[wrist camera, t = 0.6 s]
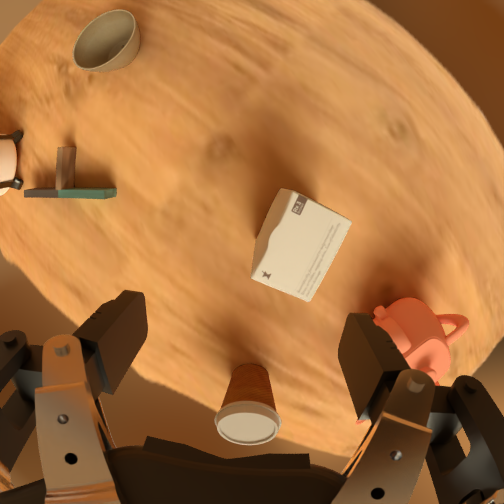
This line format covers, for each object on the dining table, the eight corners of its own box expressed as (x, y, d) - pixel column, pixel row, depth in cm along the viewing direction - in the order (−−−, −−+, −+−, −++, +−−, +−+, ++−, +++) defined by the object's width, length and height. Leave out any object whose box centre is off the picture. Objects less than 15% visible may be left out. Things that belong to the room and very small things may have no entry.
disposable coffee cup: (289, 374, 43) (295, 427, 32) (254, 401, 46) (252, 452, 34) (245, 346, 42) (241, 400, 30) (212, 378, 44) (200, 429, 33)
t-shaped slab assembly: (38, 151, 34) (25, 152, 30) (119, 144, 34) (107, 143, 30) (37, 194, 36) (24, 197, 32) (116, 196, 36) (104, 199, 32)
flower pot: (142, 82, 31) (119, 67, 24) (89, 83, 31) (63, 72, 24) (162, 26, 28) (145, 5, 21) (109, 30, 28) (87, 14, 21)
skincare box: (292, 257, 38) (310, 309, 23) (252, 239, 37) (247, 283, 23) (320, 202, 35) (357, 223, 21) (279, 182, 35) (292, 189, 20)
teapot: (418, 360, 43) (448, 405, 30) (338, 373, 43) (356, 430, 30) (438, 285, 38) (485, 322, 25) (350, 292, 39) (383, 342, 26)
